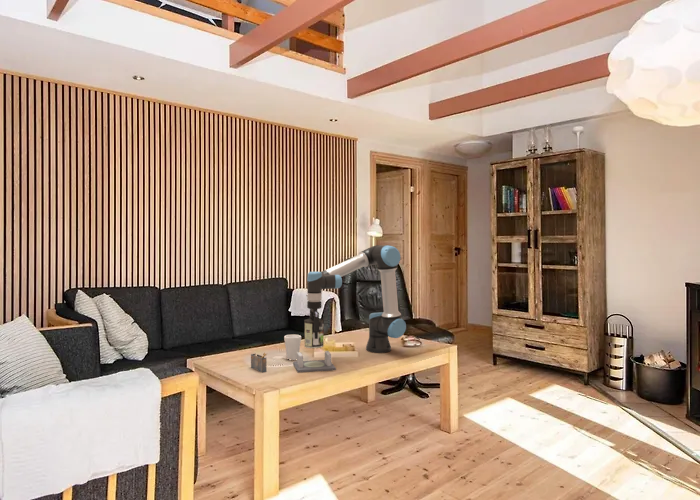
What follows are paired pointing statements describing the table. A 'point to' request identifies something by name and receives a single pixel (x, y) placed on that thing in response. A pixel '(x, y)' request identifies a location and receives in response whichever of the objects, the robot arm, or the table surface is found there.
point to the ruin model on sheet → (258, 362)
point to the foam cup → (292, 346)
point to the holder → (314, 364)
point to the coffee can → (309, 335)
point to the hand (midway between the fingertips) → (314, 342)
